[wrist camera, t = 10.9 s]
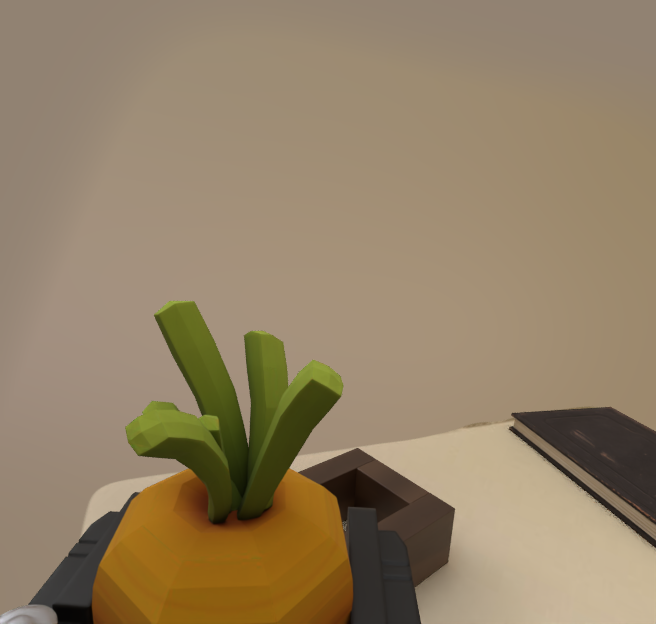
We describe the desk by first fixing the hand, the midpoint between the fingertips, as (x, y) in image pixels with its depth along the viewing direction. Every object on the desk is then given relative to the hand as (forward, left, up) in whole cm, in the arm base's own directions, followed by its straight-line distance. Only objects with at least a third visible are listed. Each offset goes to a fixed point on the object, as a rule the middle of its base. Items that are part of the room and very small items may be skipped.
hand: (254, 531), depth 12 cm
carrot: (+2, -2, -9) cm, 9 cm away
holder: (-14, +18, -20) cm, 30 cm away
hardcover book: (-4, +51, -20) cm, 55 cm away
